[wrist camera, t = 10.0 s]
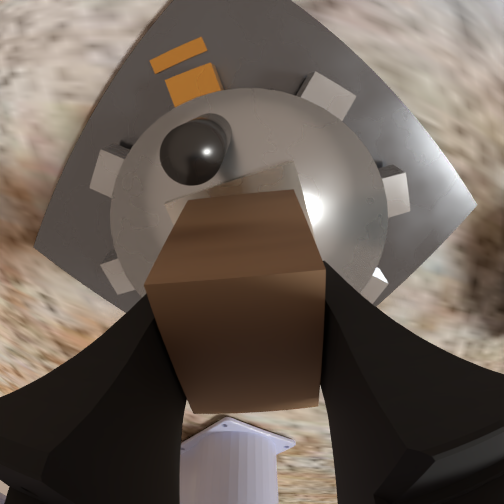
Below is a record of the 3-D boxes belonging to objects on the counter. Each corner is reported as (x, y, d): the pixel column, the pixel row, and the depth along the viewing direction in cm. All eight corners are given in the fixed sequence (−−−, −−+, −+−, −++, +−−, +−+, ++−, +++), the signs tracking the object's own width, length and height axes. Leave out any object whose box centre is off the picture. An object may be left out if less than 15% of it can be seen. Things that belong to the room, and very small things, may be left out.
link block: (298, 300, 12) (317, 406, 8) (209, 307, 12) (193, 413, 8) (293, 189, 10) (325, 269, 6) (187, 200, 10) (143, 284, 6)
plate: (268, 385, 21) (268, 391, 21) (36, 243, 16) (32, 248, 15) (473, 202, 14) (478, 205, 14) (218, -42, 9) (217, -46, 9)
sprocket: (404, 298, 17) (445, 369, 12) (176, 357, 19) (160, 432, 14) (358, 31, 10) (422, 3, 5) (59, 140, 12) (-19, 174, 7)
